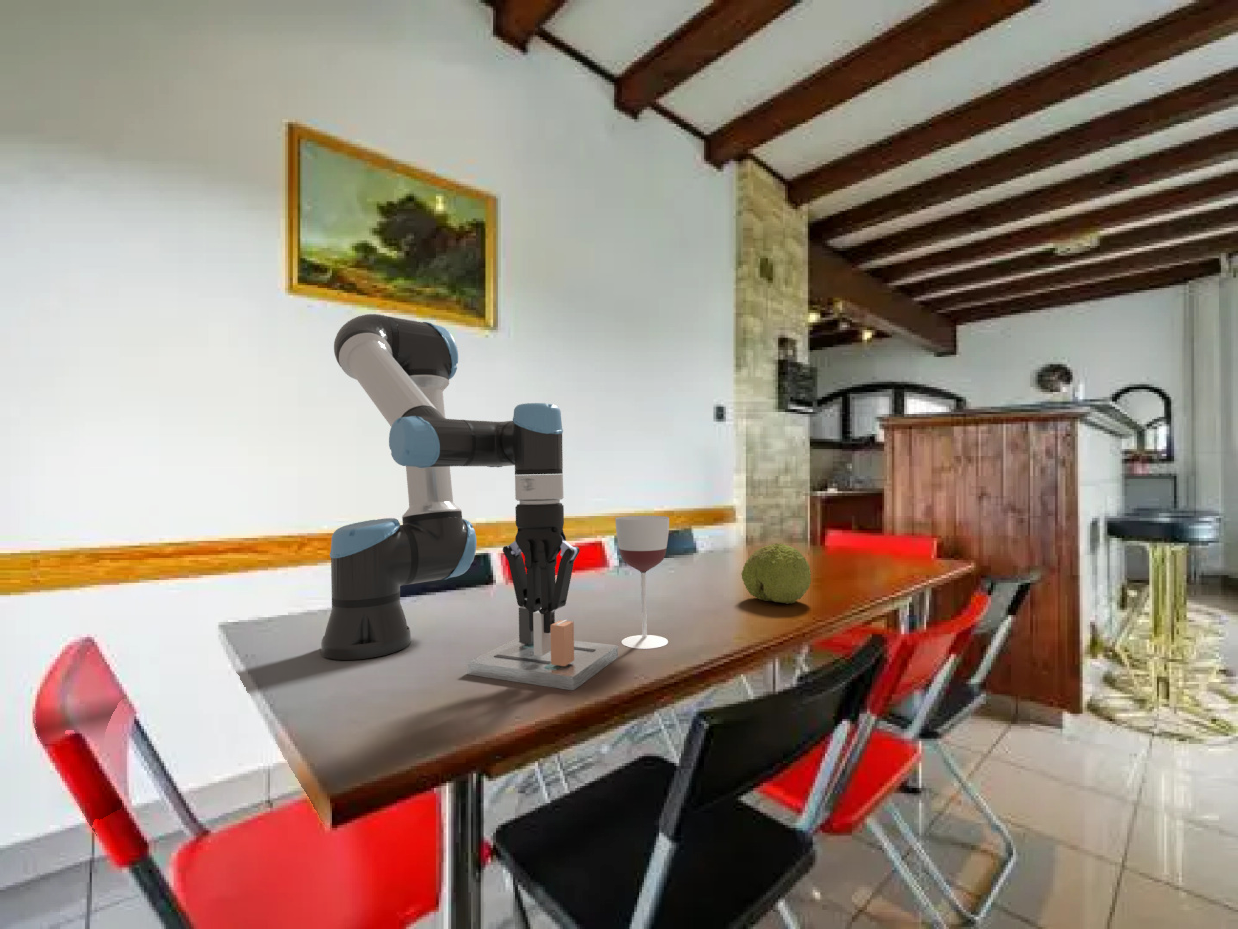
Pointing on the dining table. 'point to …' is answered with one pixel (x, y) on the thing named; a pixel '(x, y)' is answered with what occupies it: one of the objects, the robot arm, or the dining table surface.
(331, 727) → the dining table surface
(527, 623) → the fader black
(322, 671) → the dining table surface
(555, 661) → the block
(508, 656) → the console
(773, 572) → the fruit
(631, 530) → the wineglass
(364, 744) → the dining table surface
